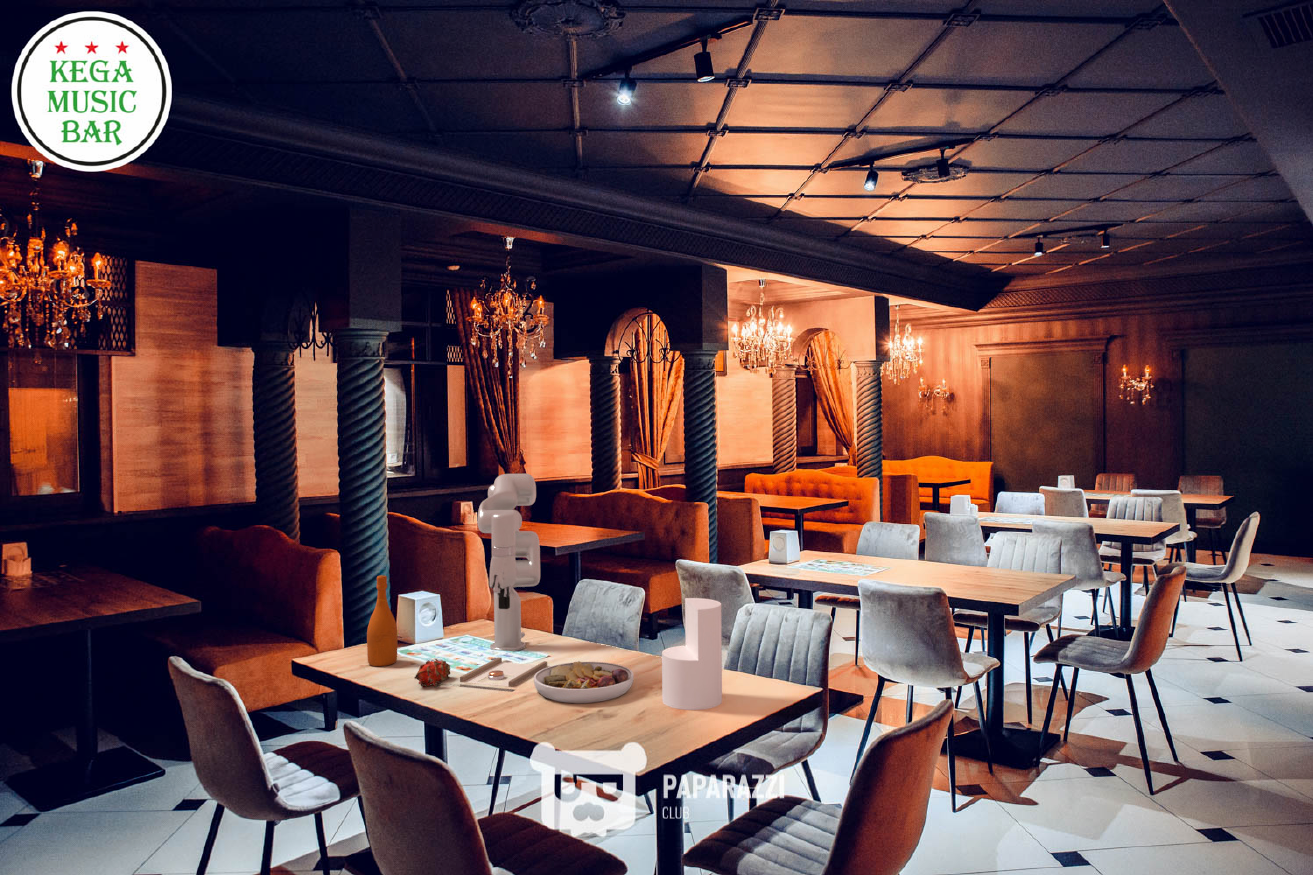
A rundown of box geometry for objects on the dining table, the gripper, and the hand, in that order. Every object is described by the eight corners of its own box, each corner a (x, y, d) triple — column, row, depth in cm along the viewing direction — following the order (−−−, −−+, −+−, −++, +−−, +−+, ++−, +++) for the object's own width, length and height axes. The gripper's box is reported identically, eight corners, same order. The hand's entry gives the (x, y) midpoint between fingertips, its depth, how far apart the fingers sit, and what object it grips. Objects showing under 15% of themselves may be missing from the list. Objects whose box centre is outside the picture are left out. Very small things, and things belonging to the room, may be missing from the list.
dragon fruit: (454, 686, 268) (418, 699, 261) (443, 666, 273) (407, 678, 266) (458, 668, 264) (421, 681, 256) (446, 648, 268) (410, 660, 261)
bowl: (515, 700, 249) (515, 673, 249) (561, 673, 277) (561, 649, 277) (610, 711, 239) (609, 683, 239) (648, 681, 267) (647, 656, 267)
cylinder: (714, 689, 257) (713, 596, 257) (728, 707, 240) (727, 608, 240) (657, 693, 254) (656, 599, 254) (668, 711, 237) (667, 611, 237)
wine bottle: (403, 661, 292) (402, 574, 292) (380, 668, 284) (379, 578, 284) (384, 658, 297) (383, 572, 297) (361, 664, 289) (360, 576, 289)
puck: (494, 678, 270) (494, 669, 270) (507, 680, 268) (507, 670, 268) (484, 682, 265) (484, 673, 265) (498, 684, 263) (498, 675, 263)
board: (498, 666, 285) (498, 657, 285) (547, 670, 280) (547, 661, 279) (459, 686, 263) (459, 676, 262) (512, 691, 257) (512, 681, 257)
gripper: (504, 547, 282) (505, 602, 282) (481, 554, 268) (482, 612, 268) (524, 548, 279) (525, 604, 280) (502, 555, 265) (503, 614, 266)
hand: (504, 608), depth 274 cm, fingers closed
